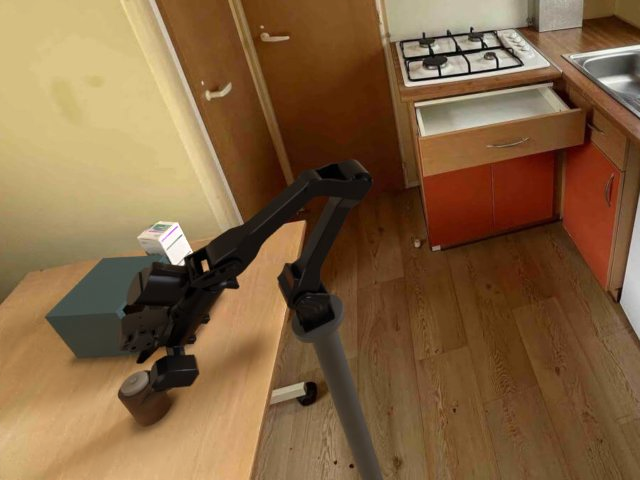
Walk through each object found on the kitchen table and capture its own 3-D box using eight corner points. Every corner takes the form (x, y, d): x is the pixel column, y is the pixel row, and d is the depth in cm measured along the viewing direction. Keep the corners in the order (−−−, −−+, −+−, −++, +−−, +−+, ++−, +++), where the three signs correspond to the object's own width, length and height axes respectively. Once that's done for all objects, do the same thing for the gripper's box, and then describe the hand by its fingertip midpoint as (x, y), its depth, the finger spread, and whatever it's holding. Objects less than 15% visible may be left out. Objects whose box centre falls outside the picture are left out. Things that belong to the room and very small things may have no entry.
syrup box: (200, 263, 107) (179, 220, 100) (181, 283, 102) (158, 239, 95) (179, 261, 107) (157, 219, 101) (160, 281, 102) (135, 237, 96)
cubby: (186, 294, 99) (164, 254, 93) (144, 354, 86) (116, 312, 80) (128, 298, 98) (102, 257, 92) (77, 358, 86) (44, 316, 80)
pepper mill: (172, 390, 80) (151, 358, 76) (171, 415, 77) (148, 383, 72) (139, 406, 78) (115, 374, 73) (136, 433, 74) (110, 401, 69)
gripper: (137, 267, 76) (83, 345, 74) (146, 343, 63) (81, 438, 62) (203, 273, 84) (156, 343, 82) (222, 342, 71) (167, 426, 70)
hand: (141, 383), depth 74 cm, fingers open, 9 cm apart
